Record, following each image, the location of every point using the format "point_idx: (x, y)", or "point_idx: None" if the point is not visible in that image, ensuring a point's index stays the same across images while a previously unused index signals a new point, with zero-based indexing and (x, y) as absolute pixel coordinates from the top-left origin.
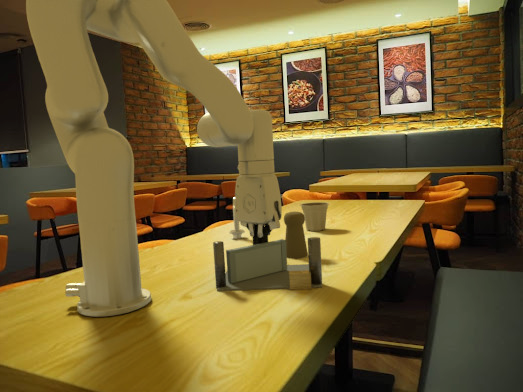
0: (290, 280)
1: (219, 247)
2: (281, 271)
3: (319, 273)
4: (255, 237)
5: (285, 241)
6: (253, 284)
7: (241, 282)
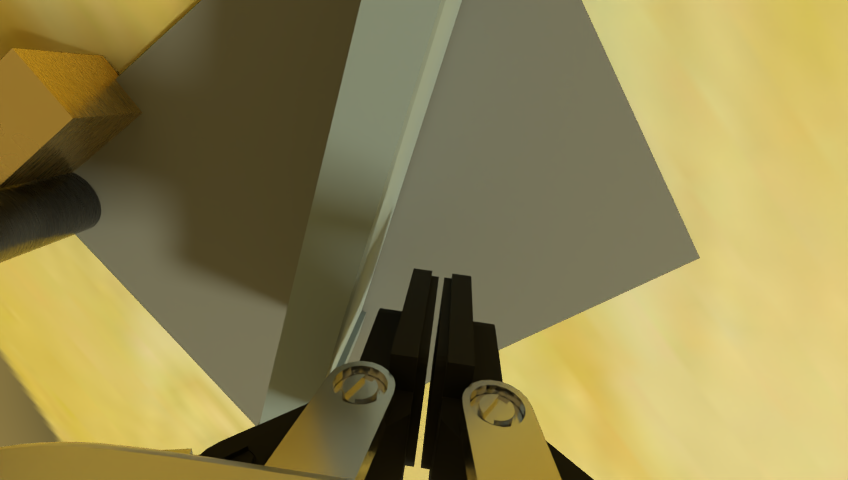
0: (51, 55)
1: None
2: None
3: None
4: (444, 373)
5: None
6: (315, 12)
7: None
